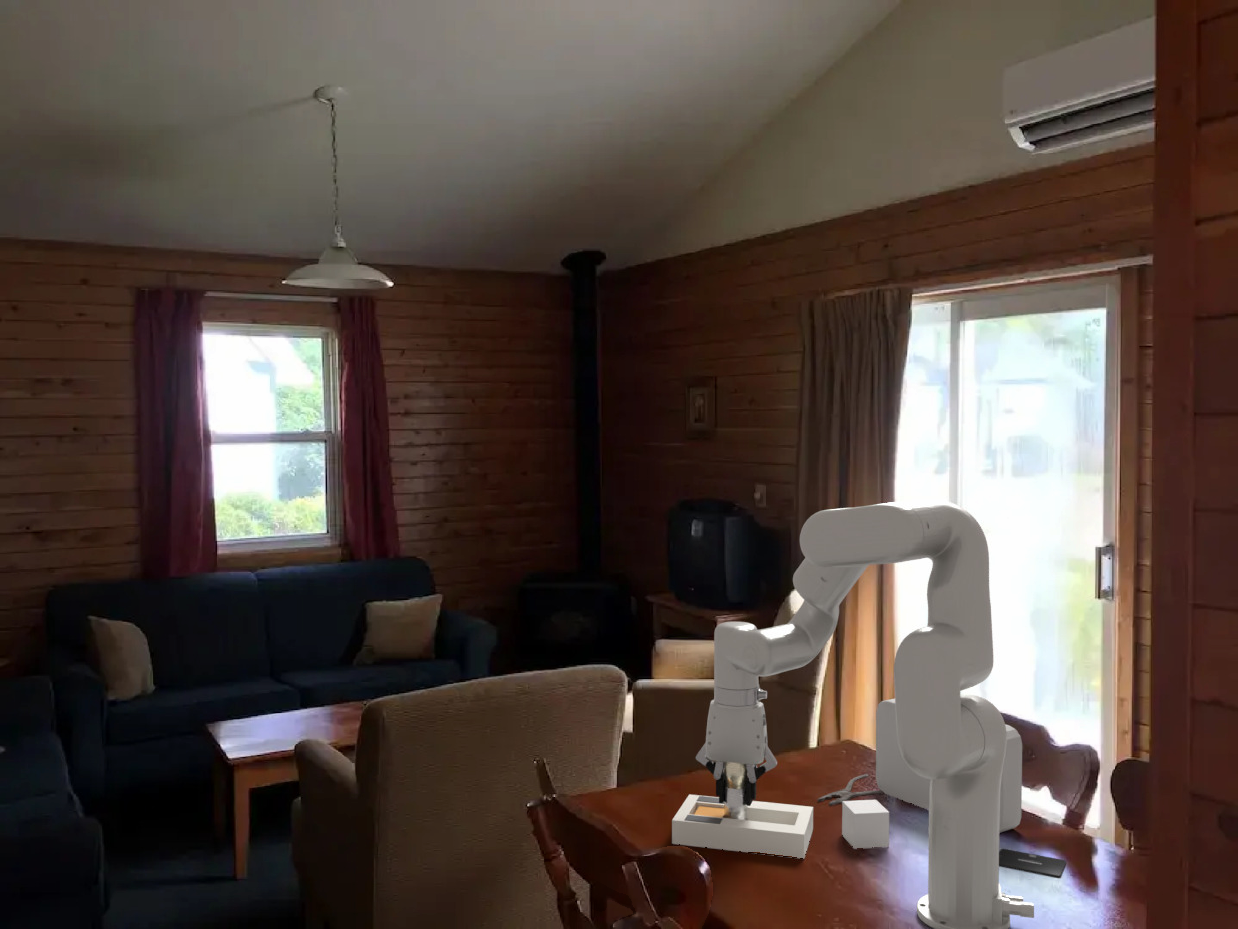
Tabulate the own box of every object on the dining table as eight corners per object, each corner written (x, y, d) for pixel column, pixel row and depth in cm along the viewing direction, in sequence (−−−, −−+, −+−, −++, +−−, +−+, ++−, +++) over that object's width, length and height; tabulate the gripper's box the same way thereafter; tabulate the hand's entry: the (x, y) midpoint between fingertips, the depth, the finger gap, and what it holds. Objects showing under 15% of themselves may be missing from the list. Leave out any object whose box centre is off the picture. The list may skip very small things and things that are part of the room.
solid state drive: (1001, 852, 174) (1001, 848, 174) (1066, 864, 169) (1066, 860, 169) (992, 867, 168) (993, 863, 168) (1060, 880, 163) (1060, 876, 163)
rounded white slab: (1030, 829, 183) (1031, 726, 182) (1002, 839, 178) (1003, 733, 178) (902, 783, 207) (903, 692, 206) (875, 790, 202) (875, 698, 202)
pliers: (907, 782, 206) (863, 810, 190) (907, 786, 206) (863, 815, 190) (861, 772, 212) (815, 799, 196) (861, 776, 212) (815, 804, 196)
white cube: (854, 849, 174) (854, 813, 174) (842, 836, 180) (842, 801, 180) (889, 847, 175) (889, 812, 175) (875, 834, 181) (875, 799, 181)
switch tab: (727, 822, 183) (727, 809, 183) (721, 834, 178) (721, 820, 178) (699, 819, 184) (699, 806, 184) (692, 830, 179) (692, 816, 179)
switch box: (813, 829, 182) (813, 806, 182) (804, 859, 170) (804, 834, 170) (689, 816, 189) (689, 794, 188) (672, 843, 176) (672, 819, 176)
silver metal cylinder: (749, 822, 181) (749, 753, 181) (745, 831, 177) (745, 760, 177) (726, 820, 182) (726, 751, 182) (722, 828, 178) (722, 758, 178)
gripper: (788, 693, 180) (788, 799, 181) (693, 687, 185) (692, 790, 185) (782, 704, 173) (782, 814, 173) (683, 697, 178) (683, 804, 178)
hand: (736, 800), depth 179 cm, fingers closed on silver metal cylinder, 4 cm apart
